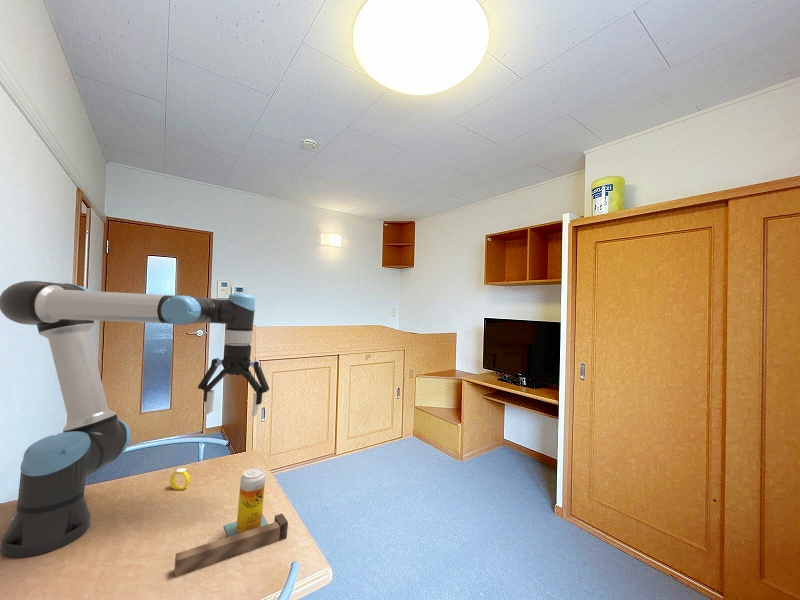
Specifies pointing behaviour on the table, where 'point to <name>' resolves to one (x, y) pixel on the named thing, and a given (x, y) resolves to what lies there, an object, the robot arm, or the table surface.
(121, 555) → the table surface
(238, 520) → the orange soda can
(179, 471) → the watch
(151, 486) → the table surface
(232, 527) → the pad
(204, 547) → the brown l-shaped hook tool
